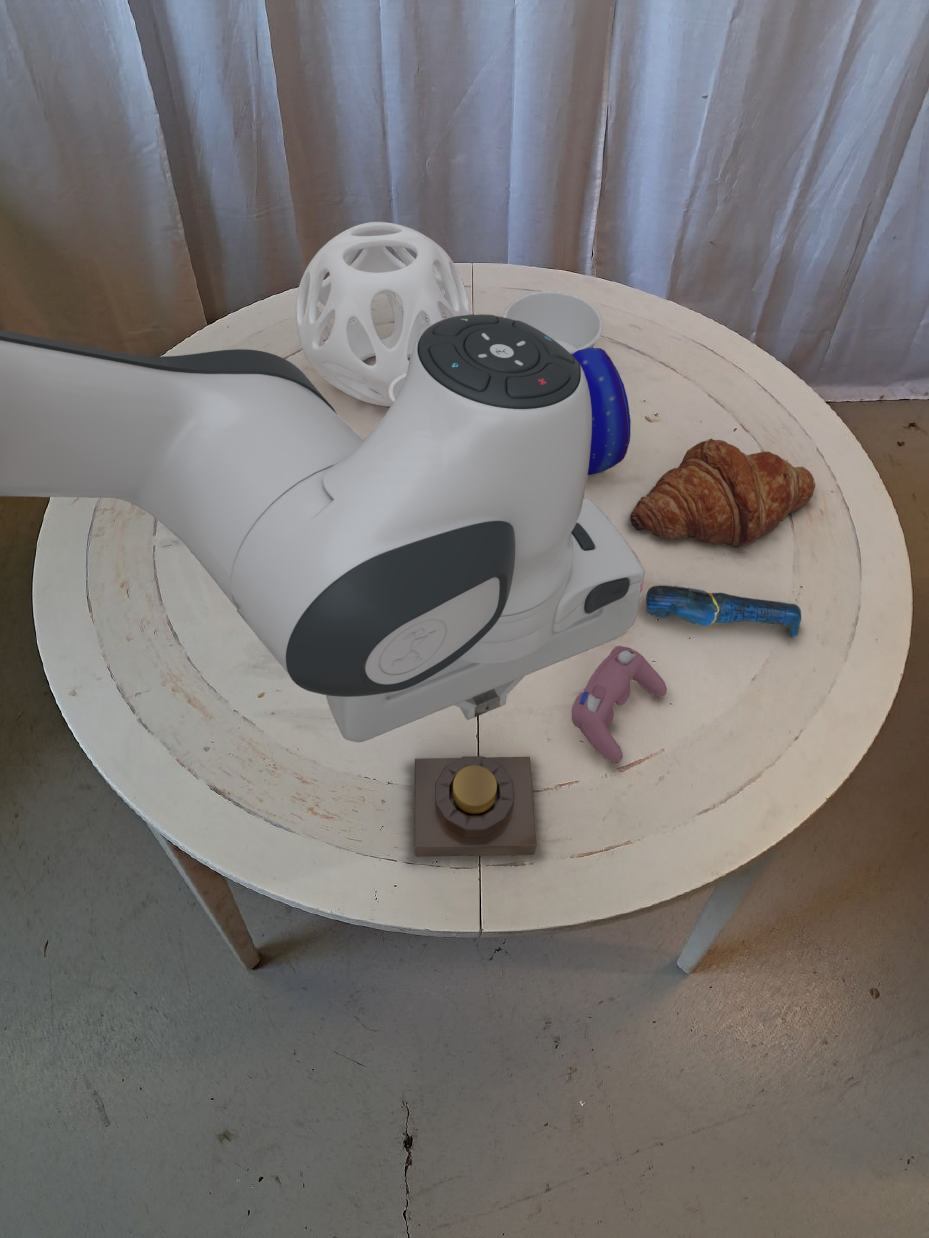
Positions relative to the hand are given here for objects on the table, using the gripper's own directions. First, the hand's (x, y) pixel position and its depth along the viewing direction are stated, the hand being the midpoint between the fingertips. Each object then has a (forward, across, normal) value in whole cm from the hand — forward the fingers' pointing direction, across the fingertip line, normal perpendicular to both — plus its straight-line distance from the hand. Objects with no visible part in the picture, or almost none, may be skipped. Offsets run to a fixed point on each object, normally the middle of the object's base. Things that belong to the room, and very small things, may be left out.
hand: (481, 704), depth 61 cm
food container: (+19, +34, +49) cm, 63 cm away
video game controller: (+19, +16, +3) cm, 25 cm away
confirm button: (+15, 0, 0) cm, 15 cm away
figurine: (+19, +31, +8) cm, 37 cm away
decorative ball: (+19, +15, +55) cm, 60 cm away
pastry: (+19, +40, +20) cm, 49 cm away
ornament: (+19, +29, +33) cm, 48 cm away
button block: (+19, 0, 0) cm, 19 cm away
